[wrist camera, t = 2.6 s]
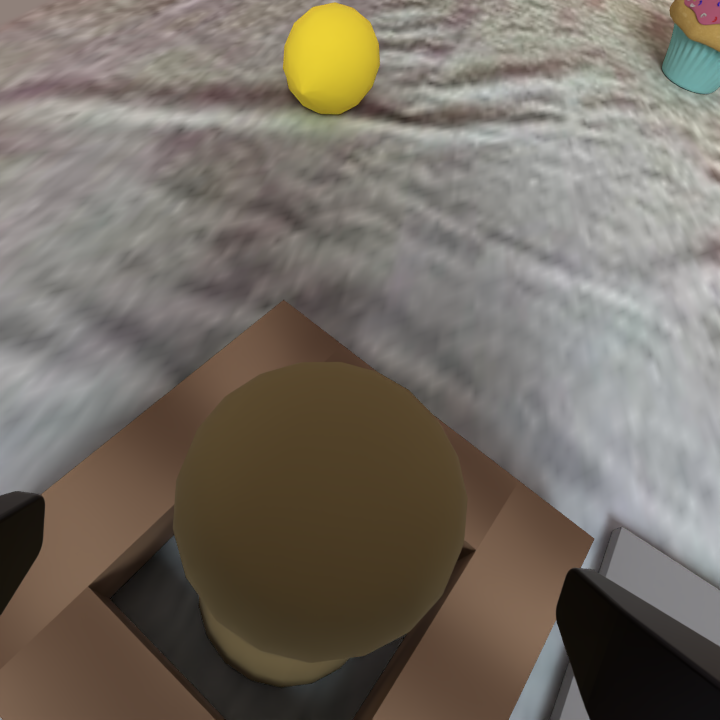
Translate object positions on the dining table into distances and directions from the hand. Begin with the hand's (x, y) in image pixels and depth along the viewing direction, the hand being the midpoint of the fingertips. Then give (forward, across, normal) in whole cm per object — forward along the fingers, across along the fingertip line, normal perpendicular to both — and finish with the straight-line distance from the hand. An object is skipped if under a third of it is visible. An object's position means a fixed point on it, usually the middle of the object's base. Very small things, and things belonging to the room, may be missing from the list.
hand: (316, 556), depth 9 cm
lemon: (+27, +2, -13) cm, 30 cm away
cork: (+8, 0, +6) cm, 10 cm away
